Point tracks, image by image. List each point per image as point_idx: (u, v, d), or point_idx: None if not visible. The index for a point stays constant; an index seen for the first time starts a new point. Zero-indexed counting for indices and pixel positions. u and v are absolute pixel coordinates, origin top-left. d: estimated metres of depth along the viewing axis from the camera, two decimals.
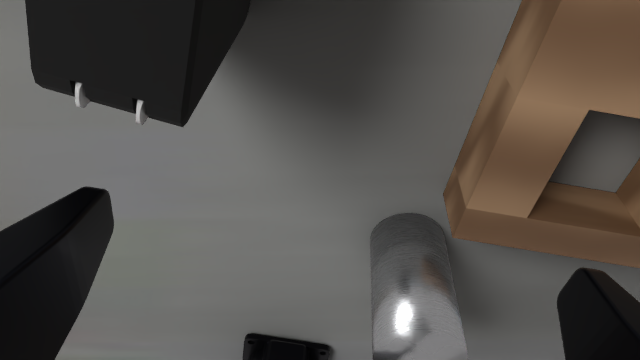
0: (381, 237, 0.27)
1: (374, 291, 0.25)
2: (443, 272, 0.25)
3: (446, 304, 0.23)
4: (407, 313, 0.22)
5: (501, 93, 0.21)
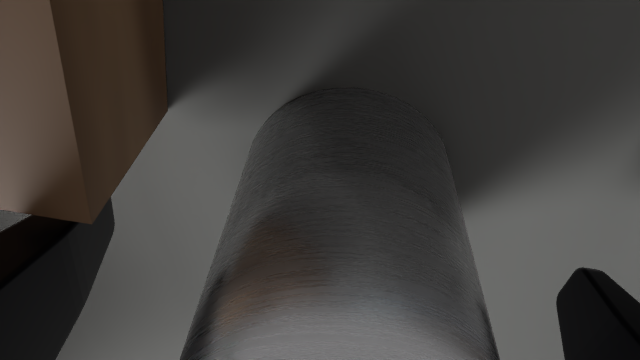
0: None
1: None
2: (217, 267, 0.07)
3: None
4: None
5: None
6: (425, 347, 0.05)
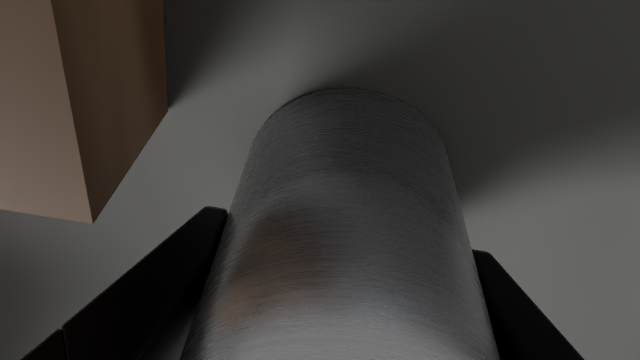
0: None
1: None
2: (218, 269, 0.07)
3: None
4: None
5: None
6: (427, 350, 0.05)
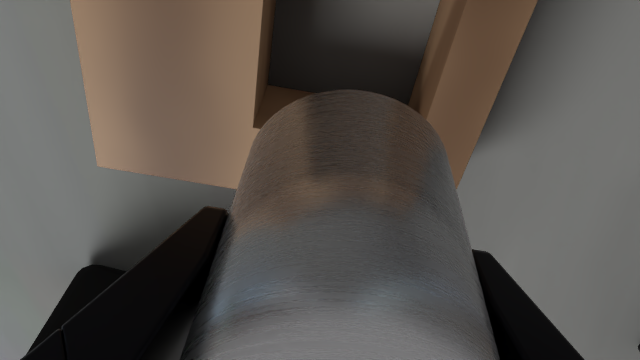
0: None
1: None
2: (217, 272, 0.07)
3: None
4: None
5: None
6: (427, 354, 0.05)
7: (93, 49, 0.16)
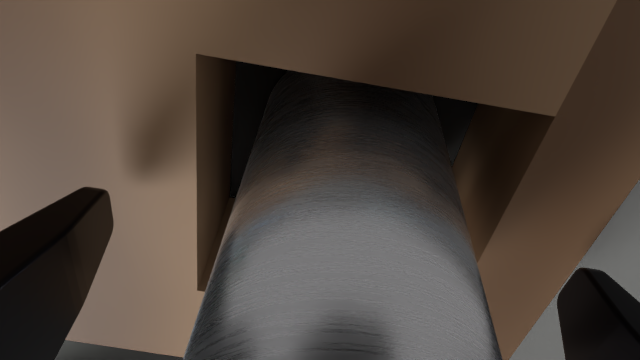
0: None
1: None
2: (249, 177, 0.08)
3: (216, 271, 0.07)
4: None
5: None
6: (412, 213, 0.07)
7: None
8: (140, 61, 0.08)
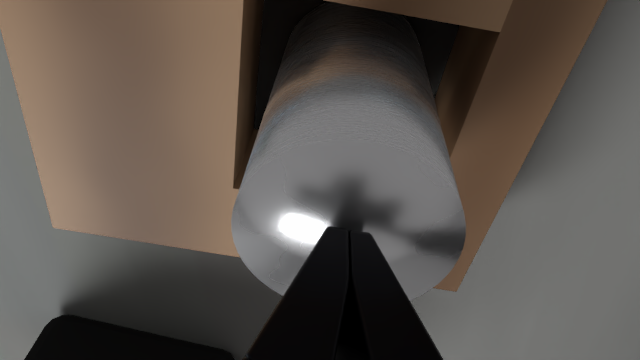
0: None
1: None
2: (279, 81, 0.12)
3: (262, 130, 0.10)
4: None
5: None
6: (395, 87, 0.10)
7: (37, 100, 0.13)
8: None
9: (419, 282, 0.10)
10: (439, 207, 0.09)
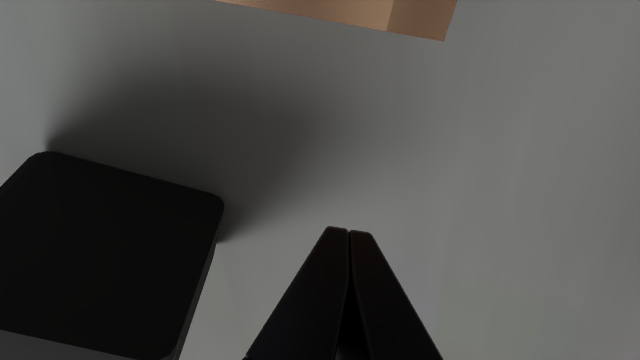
0: None
1: None
2: None
3: None
4: None
5: None
6: None
7: None
8: None
9: None
10: None
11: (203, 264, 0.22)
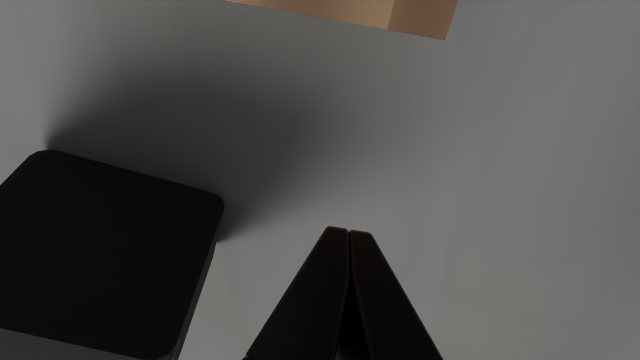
0: None
1: None
2: None
3: None
4: None
5: None
6: None
7: None
8: None
9: None
10: None
11: (203, 263, 0.22)
